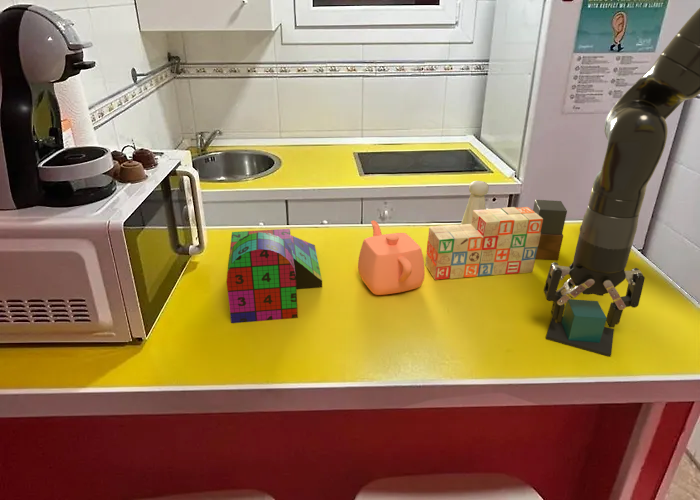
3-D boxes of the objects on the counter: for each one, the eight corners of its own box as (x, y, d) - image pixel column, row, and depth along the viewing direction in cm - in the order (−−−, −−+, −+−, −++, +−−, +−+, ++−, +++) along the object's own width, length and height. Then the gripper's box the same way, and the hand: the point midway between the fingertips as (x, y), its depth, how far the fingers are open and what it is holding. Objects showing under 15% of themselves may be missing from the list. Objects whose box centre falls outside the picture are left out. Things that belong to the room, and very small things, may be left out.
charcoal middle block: (556, 224, 114) (561, 200, 112) (562, 234, 109) (567, 210, 107) (530, 222, 115) (534, 199, 112) (535, 233, 110) (539, 209, 107)
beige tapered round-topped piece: (465, 240, 120) (472, 188, 114) (456, 230, 125) (462, 179, 119) (489, 238, 121) (497, 186, 115) (478, 228, 126) (485, 177, 120)
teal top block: (591, 325, 90) (597, 301, 88) (599, 342, 86) (606, 318, 83) (561, 322, 91) (567, 298, 88) (568, 340, 86) (574, 315, 84)
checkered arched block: (328, 315, 93) (327, 244, 86) (231, 323, 91) (223, 251, 84) (314, 250, 115) (313, 190, 108) (236, 255, 112) (230, 194, 106)
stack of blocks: (434, 281, 104) (440, 225, 98) (424, 266, 109) (429, 212, 104) (533, 272, 107) (544, 217, 102) (519, 258, 113) (528, 205, 107)
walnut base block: (552, 247, 117) (557, 223, 114) (558, 260, 112) (563, 235, 109) (524, 246, 118) (529, 222, 115) (529, 258, 113) (534, 233, 110)
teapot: (378, 310, 94) (380, 260, 90) (346, 264, 110) (346, 219, 105) (435, 299, 98) (440, 250, 93) (396, 256, 113) (398, 212, 108)
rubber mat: (613, 331, 89) (614, 329, 89) (610, 357, 83) (611, 354, 83) (552, 316, 93) (553, 313, 93) (545, 339, 87) (546, 336, 87)
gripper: (563, 243, 77) (543, 332, 85) (665, 250, 75) (635, 340, 83) (552, 222, 84) (535, 306, 91) (646, 228, 82) (620, 313, 90)
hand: (583, 322), depth 87 cm, fingers open, 8 cm apart
